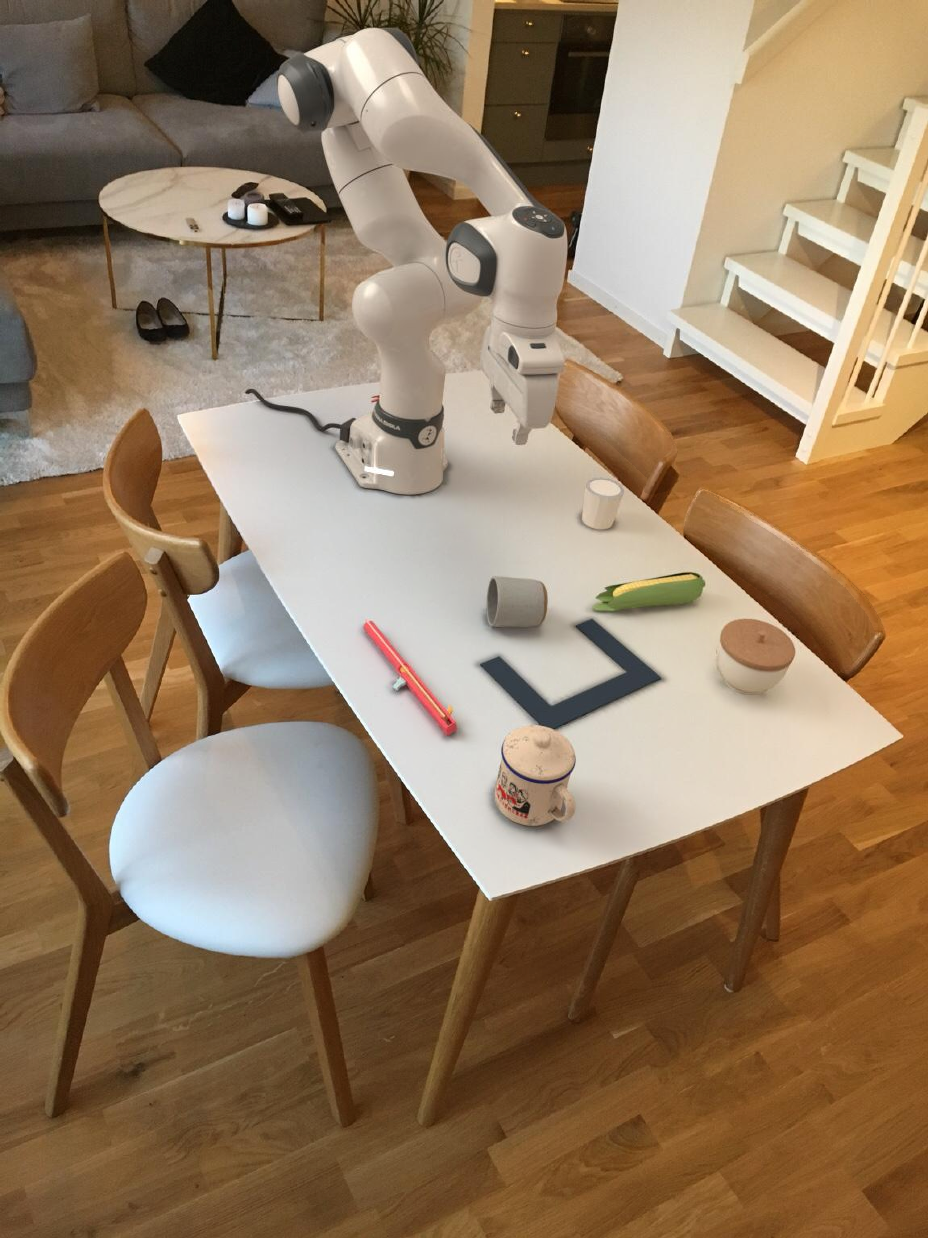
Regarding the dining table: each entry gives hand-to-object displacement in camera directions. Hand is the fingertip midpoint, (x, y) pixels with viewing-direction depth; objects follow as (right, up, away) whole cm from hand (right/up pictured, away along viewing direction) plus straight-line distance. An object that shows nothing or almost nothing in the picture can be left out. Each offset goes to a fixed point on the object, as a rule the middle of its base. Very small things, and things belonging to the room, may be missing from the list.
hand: (507, 426), depth 145 cm
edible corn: (+23, -26, +17) cm, 38 cm away
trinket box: (+35, -37, +4) cm, 52 cm away
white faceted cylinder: (+17, -11, +34) cm, 40 cm away
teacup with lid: (+2, -52, -20) cm, 55 cm away
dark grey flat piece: (+9, -36, +1) cm, 37 cm away
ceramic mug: (+1, -28, +10) cm, 29 cm away
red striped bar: (-15, -37, -4) cm, 40 cm away
